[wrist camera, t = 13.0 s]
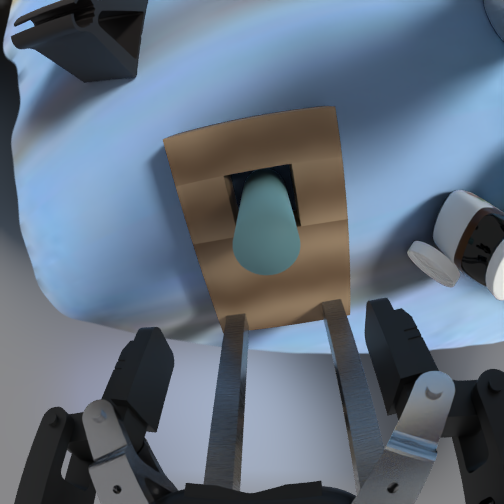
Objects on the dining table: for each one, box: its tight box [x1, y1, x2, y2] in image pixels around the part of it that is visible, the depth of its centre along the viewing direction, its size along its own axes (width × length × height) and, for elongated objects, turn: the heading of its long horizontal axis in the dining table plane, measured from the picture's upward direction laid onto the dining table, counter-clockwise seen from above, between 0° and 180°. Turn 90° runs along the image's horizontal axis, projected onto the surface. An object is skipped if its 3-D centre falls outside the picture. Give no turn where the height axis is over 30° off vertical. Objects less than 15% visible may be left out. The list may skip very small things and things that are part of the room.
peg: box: [233, 169, 301, 275], centre depth 23 cm, size 4×4×12 cm
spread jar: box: [407, 190, 504, 300], centre depth 24 cm, size 12×11×12 cm
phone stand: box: [11, 0, 148, 82], centre depth 15 cm, size 9×6×12 cm, turn 173°
